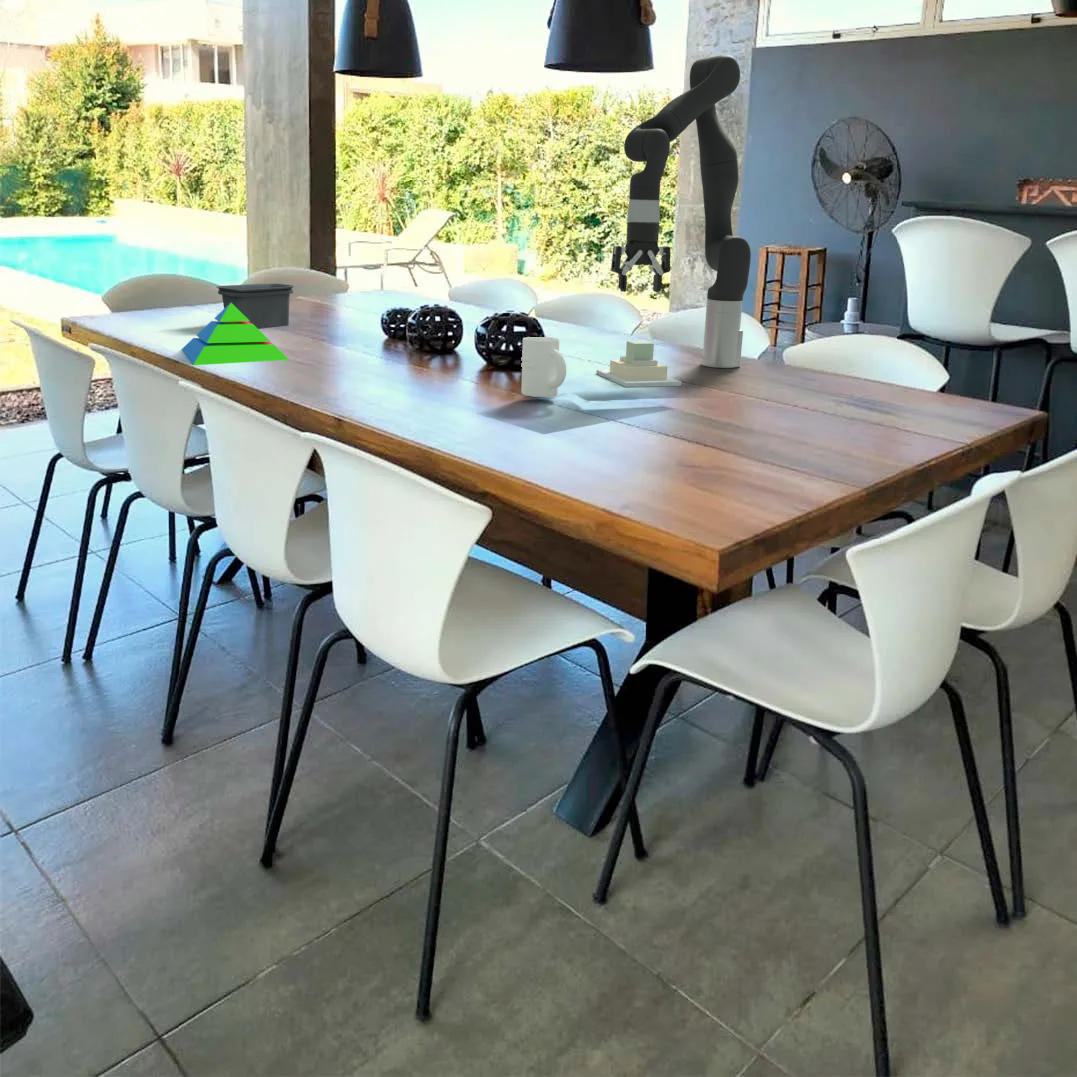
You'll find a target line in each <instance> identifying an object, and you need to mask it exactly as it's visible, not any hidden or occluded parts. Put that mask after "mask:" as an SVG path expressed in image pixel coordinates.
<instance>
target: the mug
mask: <svg viewBox="0 0 1077 1077" xmlns="http://www.w3.org/2000/svg"><path fill="white" fill-rule="evenodd" d="M521 349H522V350H521V351H522V357H521V361H522V363H521V367H522V369H521V394H522V395H523V396H525V397H526V396H527V397H533V398H535V397H536V398H547V397H548V398H549V397H556V396H557V395H558V393H559V392H558V390H559V387H561V386H562V385H563V383H564V381H565V379H566V378H567V377H566V376H567V364H566V360H565V358H564V356H563V355H562V353H561V352H560V339H559V338H557V337H549V336H546V337H530V336H527V337H523V338H522V348H521Z"/></svg>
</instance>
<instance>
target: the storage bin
mask: <svg viewBox="0 0 1077 1077" xmlns="http://www.w3.org/2000/svg"><path fill="white" fill-rule="evenodd" d="M216 288H217V289H218V291H217V294H218V295H221V297H222V302H223V303H222V304H223V310H224V309H225V308H226V307H227V306H228V305H229V304H230V303H232V304H233V305H234V306H235V307H236V308H237V309H238V310H239V311H240V312H241V313H242V314H243V315H244V316H245V317H246V318H247V319H248V320H249V321H248V322H250V323H252V324H254V325H255V326H256V327H257V328H258V329H259V330H261V329H268V328H278V327H287V326H288V327H289V326H290V294H294V290H293V288H294V285H293V284H285V283H251V284H248V283H247V284H230V285H229V284H228V285H216Z"/></svg>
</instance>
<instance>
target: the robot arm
mask: <svg viewBox="0 0 1077 1077" xmlns="http://www.w3.org/2000/svg"><path fill="white" fill-rule="evenodd" d="M740 80H741V68H740V66H739V63H738V61H737V60H736V59H735V57H734V56H732V55H730V54H729V55H728V54H722V55H715V56H709V57H706V58H701V59H698V60H695V61H694V62H693V64H692V65H691V67H690V70H689V88H690V89H689V90H687V91H686V92H684V93H682V94H680V95H678V96H676V97H675V98H674V99H672V100H671V101H669V102H668V103H667V104H666V105H665V106H663V108H662V109H660V110H659V112H657V114H656V115H655V116H653V117H651V118H649V119H647V120H646V121H643V122H641V123H640V124H639V125H636V126H635V127H633V129H631V131H630V132H629V133H628V134H627V136H626V138H625V139H624V144H623V150H624V154H625V155H626V157H627V158H628V160H630V161H631V162H632V161H633V162H637V163H638V162H639V163H642V162H643V163H644V162H646V163H645V166H644V168H643V170H642V171H640V172H637V173H634V174H632V176H631V177H630V181H629V195H628V196H629V198H628V199H629V200H628V207H627V218H626V244H625V246H620V245H614V246H613V248H612V256H611V266H610V267H611V268H610V271H611V272H612V273H615V274H617V275H618V282H617V283H618V286H617V287H618V290H619V289H620V292H623V293H624V292H627V289H628V288H627V287H628V286H627V285H628V275H627V274H628V272H630V270H631V269H632V268H633V267H634V266H641V265H644V266H649V267H650V268H651V269H652V271H653V273H654V275H653V282H652V284H653V285H652V286H653V287H652V291H653V292H660V290H661V289H662V284H663V275H664V274H666V273H670V272H671V247H670V246H668V245H667V246H666V245H664V246H663V245H662V246H659V234H660V220H661V215H660V214H661V207H660V198H661V194H660V193H661V182H662V179H663V174H664V171H665V168H666V164H667V163H668V162H667V161H668V159H669V156H670V152H671V151H670V149H671V143H672V142H673V141H674V140H676V139H677V138H678V137H679V136H680V135H681V134H682V133H683V132H684V131H685V130H686V129H687V128H688V127H689V126H690V125H691V124H692V123H693V122H694V121H696V122H695V123H696V130H697V131H696V132H697V137H698V138H697V139H698V148H699V164H700V166H699V167H700V178H701V179H700V180H701V185H702V197H703V209H704V224H705V225H704V254H705V255H704V257H705V261H706V263H707V265H708V267H710V269H712V270H713V271H715V272H716V278H715V281H714V283H713V285H711V286H710V287H708V289H707V294H706V295H707V296H706V305H705V306H706V307H705V308H706V309H705V321H704V330H703V331H704V333H703V347H702V357H701V365H702V366H704V367H707V368H721V369H730V368H731V369H732V368H740V367H741V362H742V361H741V360H742V359H741V358H742V350H743V349H742V348H743V338H744V337H743V336H744V331H743V329H741V326H742V325H741V323H742V314H743V313H742V312H743V303H744V302H743V300H744V294H745V292H746V290H747V287H748V284H749V283H748V282H749V276H750V275H749V274H750V267H751V256H752V254H751V253H752V252H751V247H750V244H749V242H748V241H747V240H746V239H745V238H744V237H742V236H737V235H734V234H733V230H732V229H733V228H732V208H733V204H734V200H735V197H736V193H737V189H738V185H739V163H738V154H737V150H736V148H735V146H734V143H733V142H732V140H731V138H730V137H729V135H728V134H727V133H726V131H725V129H724V128H723V127H722V125H721V123H720V121H719V118H718V114H717V110H716V109H717V108H716V104H717V103H718V102H720V101H722V100H724V99H725V98H726V97H729V95H731V94H732V93H734V92H735V90H736V89H737V88H738V86H739V83H740ZM624 253H625V255H626V257H625V259H624V261H623V262H622V265H621V260H622V256H623V255H624ZM658 254H659V255H660V256H661V266H660V262H659V261H658V260H657V259H658V258H656V257H657V256H658Z"/></svg>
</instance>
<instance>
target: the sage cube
mask: <svg viewBox="0 0 1077 1077" xmlns="http://www.w3.org/2000/svg"><path fill="white" fill-rule="evenodd" d="M654 347H655V343H653V342H651V341H647V340H626V349H625V356H626V362H627V363H630V364H632V360H654V351H655V350H654Z"/></svg>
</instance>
